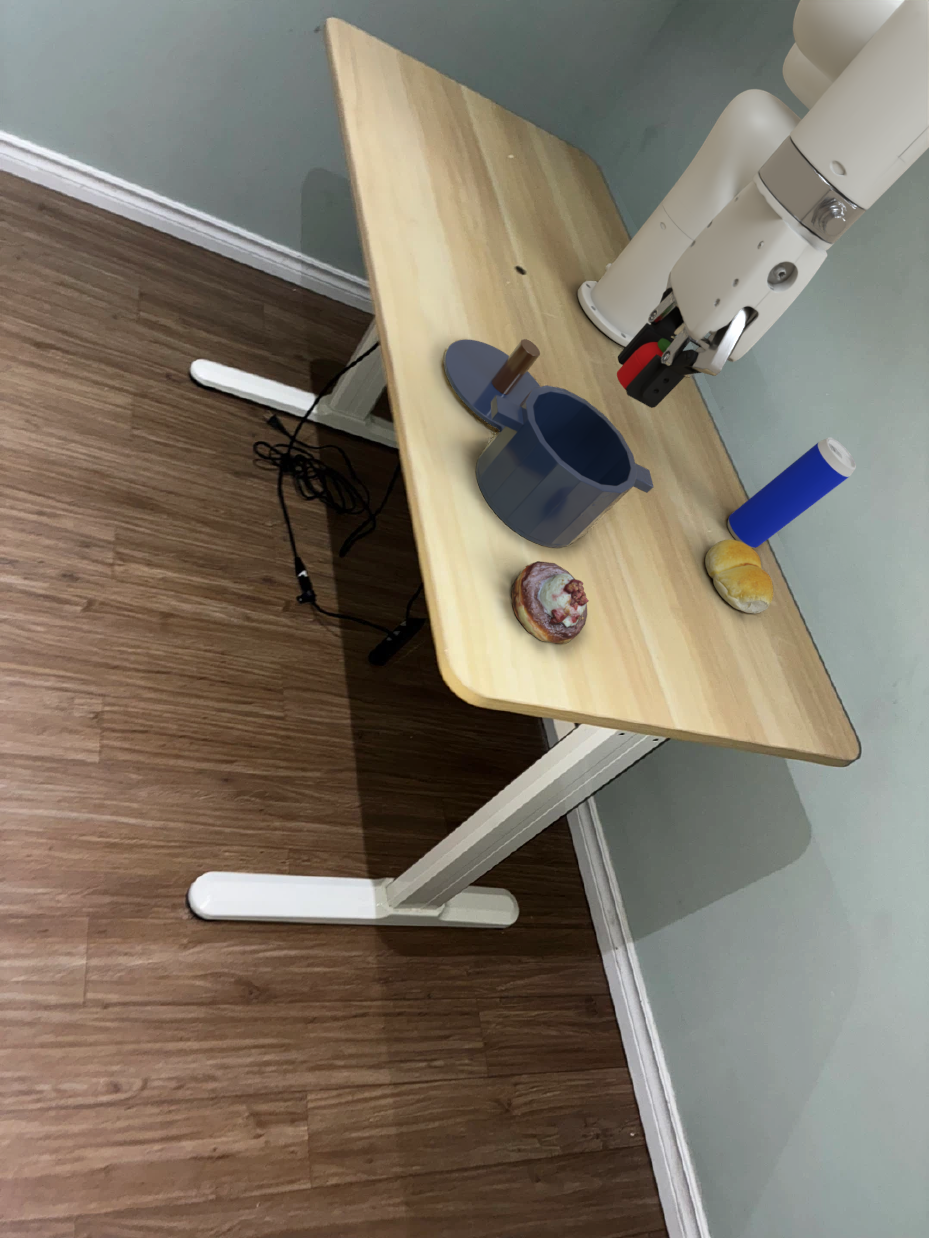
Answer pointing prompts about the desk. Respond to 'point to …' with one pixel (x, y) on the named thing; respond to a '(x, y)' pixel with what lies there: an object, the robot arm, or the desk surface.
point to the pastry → (549, 602)
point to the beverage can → (792, 492)
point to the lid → (490, 374)
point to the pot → (555, 466)
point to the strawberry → (640, 360)
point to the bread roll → (739, 576)
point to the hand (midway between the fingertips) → (635, 381)
